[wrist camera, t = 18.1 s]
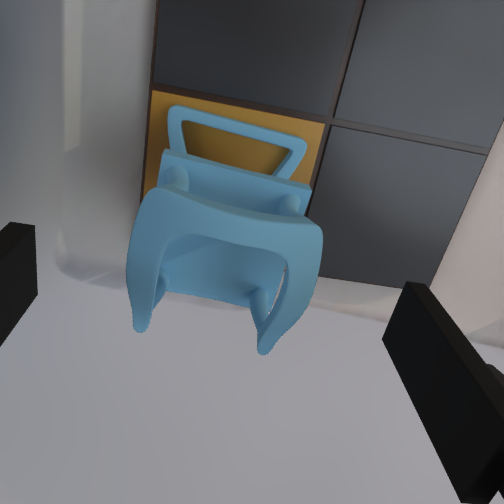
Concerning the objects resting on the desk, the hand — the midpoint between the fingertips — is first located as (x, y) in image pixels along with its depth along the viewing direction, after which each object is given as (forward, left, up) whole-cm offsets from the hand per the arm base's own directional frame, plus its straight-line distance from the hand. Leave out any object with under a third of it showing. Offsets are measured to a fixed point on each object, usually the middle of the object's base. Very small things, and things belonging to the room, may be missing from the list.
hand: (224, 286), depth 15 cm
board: (-5, +5, -13) cm, 14 cm away
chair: (0, 0, -12) cm, 12 cm away
